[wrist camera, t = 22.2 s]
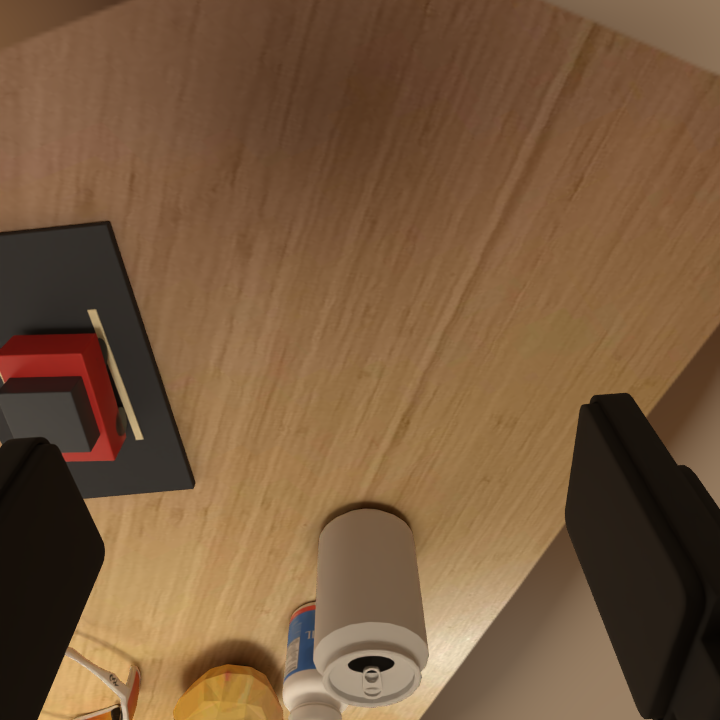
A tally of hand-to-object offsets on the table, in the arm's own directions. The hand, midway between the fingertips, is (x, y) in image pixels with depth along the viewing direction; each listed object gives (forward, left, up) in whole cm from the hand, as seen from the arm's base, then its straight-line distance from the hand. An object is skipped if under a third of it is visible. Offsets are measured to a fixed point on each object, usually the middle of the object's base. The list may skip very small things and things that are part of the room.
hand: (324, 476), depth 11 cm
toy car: (+12, -16, -22) cm, 29 cm away
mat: (+12, -19, -25) cm, 34 cm away
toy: (+49, -16, -25) cm, 58 cm away
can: (+29, -1, -25) cm, 38 cm away
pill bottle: (+39, -6, -25) cm, 47 cm away
